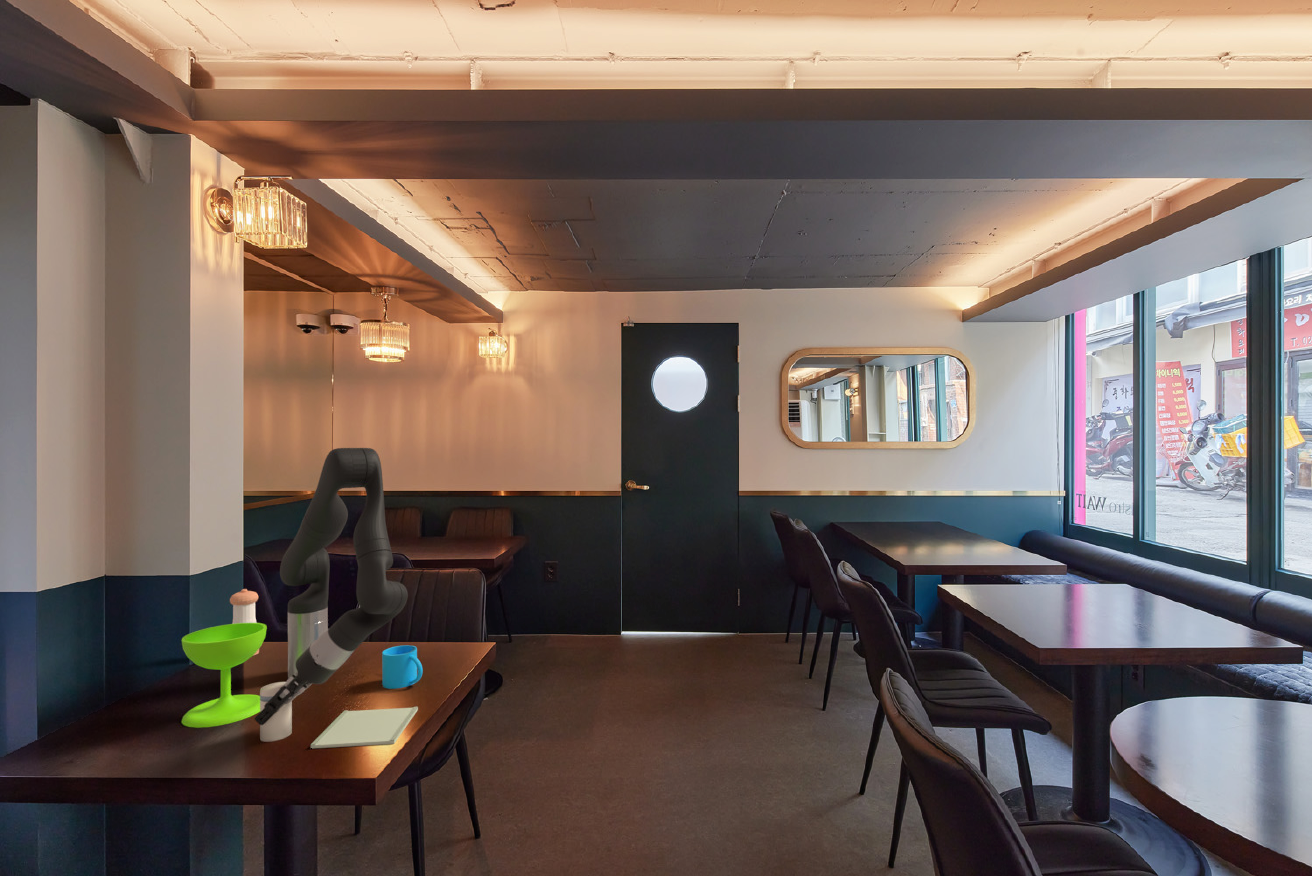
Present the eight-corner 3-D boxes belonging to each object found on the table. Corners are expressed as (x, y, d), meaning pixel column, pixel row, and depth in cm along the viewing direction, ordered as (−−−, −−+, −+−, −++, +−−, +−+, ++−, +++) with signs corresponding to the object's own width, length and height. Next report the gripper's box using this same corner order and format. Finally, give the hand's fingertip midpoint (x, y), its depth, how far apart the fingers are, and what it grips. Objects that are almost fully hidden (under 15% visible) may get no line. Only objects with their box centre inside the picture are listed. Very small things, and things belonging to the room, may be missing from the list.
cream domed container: (269, 730, 130) (269, 682, 130) (297, 728, 130) (297, 681, 130) (253, 742, 124) (253, 693, 124) (283, 741, 124) (283, 691, 125)
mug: (375, 685, 154) (375, 653, 154) (402, 674, 161) (402, 643, 161) (408, 693, 148) (408, 660, 148) (434, 682, 155) (434, 650, 156)
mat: (344, 714, 137) (344, 710, 137) (417, 710, 138) (417, 706, 138) (310, 748, 121) (310, 744, 121) (394, 743, 122) (394, 739, 122)
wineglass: (219, 697, 148) (219, 622, 148) (282, 697, 147) (282, 622, 147) (162, 727, 132) (162, 643, 132) (233, 728, 131) (232, 643, 131)
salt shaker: (222, 658, 176) (222, 591, 177) (243, 650, 183) (243, 586, 184) (244, 659, 175) (244, 592, 176) (265, 651, 182) (264, 586, 183)
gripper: (328, 632, 135) (271, 689, 134) (296, 654, 121) (232, 718, 120) (353, 655, 136) (297, 713, 134) (324, 679, 121) (261, 744, 120)
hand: (267, 715), depth 127 cm, fingers closed on cream domed container, 5 cm apart
